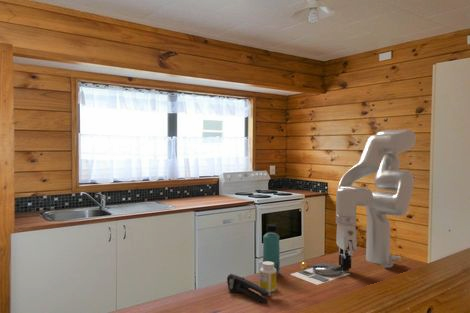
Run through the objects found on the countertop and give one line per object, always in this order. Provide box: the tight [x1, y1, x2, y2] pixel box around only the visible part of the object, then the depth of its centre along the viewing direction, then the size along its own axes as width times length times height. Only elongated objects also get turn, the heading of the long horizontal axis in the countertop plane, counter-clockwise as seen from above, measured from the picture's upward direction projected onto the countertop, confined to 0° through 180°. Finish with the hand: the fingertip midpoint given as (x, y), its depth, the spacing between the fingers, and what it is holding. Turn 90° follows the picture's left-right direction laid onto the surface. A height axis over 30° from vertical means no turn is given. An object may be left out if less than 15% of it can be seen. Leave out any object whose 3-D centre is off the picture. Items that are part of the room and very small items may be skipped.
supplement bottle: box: [259, 261, 277, 297], centre depth 118 cm, size 6×6×10 cm
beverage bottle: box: [262, 223, 281, 276], centre depth 133 cm, size 6×7×20 cm
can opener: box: [226, 273, 269, 303], centre depth 116 cm, size 18×7×6 cm, turn 43°
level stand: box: [289, 267, 351, 286], centre depth 133 cm, size 20×13×2 cm, turn 127°
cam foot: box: [300, 253, 350, 276], centre depth 136 cm, size 19×11×7 cm, turn 92°
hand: (344, 266), depth 136 cm, fingers closed on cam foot, 3 cm apart
